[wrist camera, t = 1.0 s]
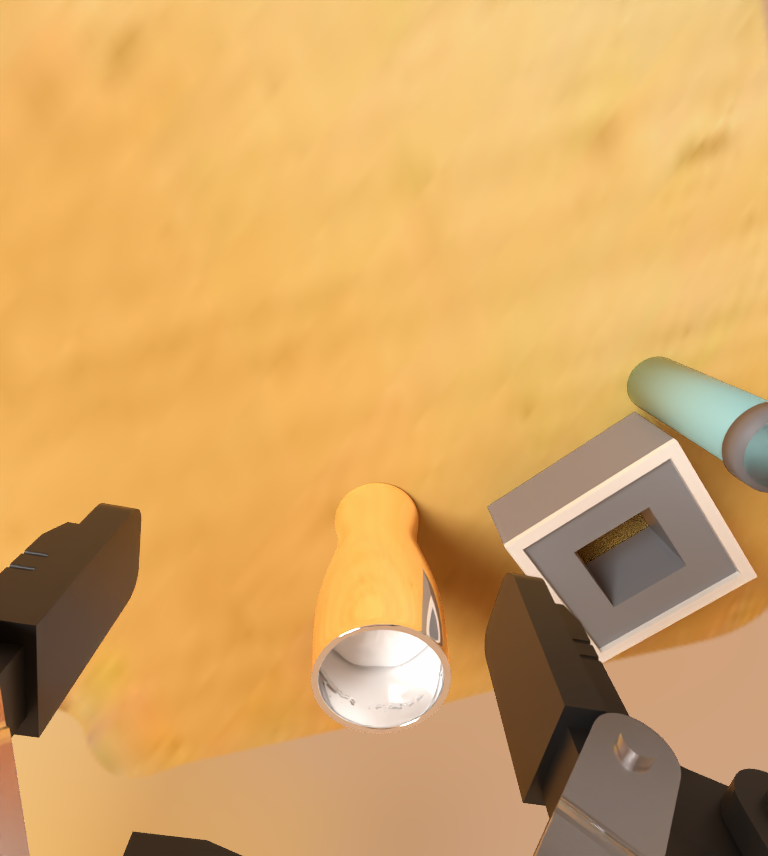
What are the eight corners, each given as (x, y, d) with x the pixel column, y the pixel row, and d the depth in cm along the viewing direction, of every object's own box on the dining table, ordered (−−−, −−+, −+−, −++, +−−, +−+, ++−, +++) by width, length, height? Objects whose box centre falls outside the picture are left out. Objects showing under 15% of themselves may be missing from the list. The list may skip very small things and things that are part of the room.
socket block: (634, 411, 37) (677, 440, 32) (708, 533, 40) (757, 576, 35) (487, 506, 39) (505, 547, 34) (569, 614, 42) (596, 666, 37)
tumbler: (320, 551, 40) (294, 725, 26) (339, 467, 38) (321, 608, 23) (411, 568, 41) (433, 747, 26) (435, 487, 38) (474, 635, 24)
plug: (668, 339, 35) (810, 390, 24) (695, 389, 36) (842, 459, 25) (611, 377, 36) (722, 443, 25) (640, 424, 37) (759, 508, 26)
